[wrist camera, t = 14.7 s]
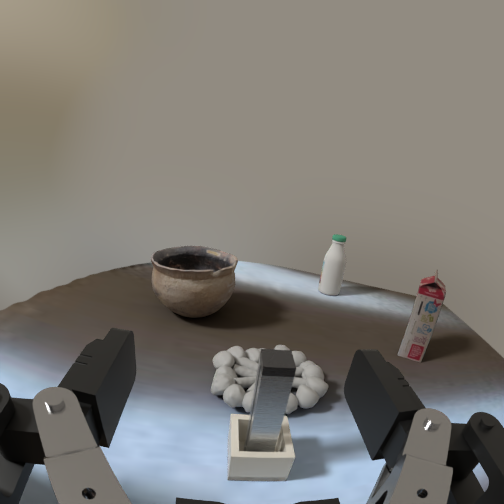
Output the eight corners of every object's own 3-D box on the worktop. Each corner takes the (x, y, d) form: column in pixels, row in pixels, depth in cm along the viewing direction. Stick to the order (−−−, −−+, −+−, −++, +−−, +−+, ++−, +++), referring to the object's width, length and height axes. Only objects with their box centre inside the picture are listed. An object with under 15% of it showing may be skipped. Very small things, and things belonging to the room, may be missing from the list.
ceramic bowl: (204, 340, 69) (209, 278, 65) (133, 311, 77) (132, 255, 73) (244, 306, 89) (251, 255, 85) (181, 286, 97) (184, 239, 93)
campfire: (268, 446, 41) (275, 421, 40) (185, 379, 55) (186, 354, 54) (342, 390, 57) (350, 366, 55) (264, 347, 71) (268, 325, 69)
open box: (227, 480, 34) (230, 456, 32) (227, 439, 42) (230, 413, 40) (285, 480, 35) (295, 457, 33) (279, 441, 42) (286, 416, 41)
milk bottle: (343, 294, 106) (355, 239, 101) (327, 297, 103) (338, 238, 98) (329, 286, 113) (340, 233, 108) (313, 288, 109) (323, 232, 104)
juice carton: (422, 350, 72) (448, 272, 66) (420, 362, 66) (449, 279, 61) (401, 344, 75) (424, 266, 69) (397, 355, 70) (423, 272, 64)
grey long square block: (244, 465, 36) (263, 366, 31) (243, 447, 39) (260, 348, 35) (269, 466, 36) (296, 368, 31) (267, 448, 40) (291, 350, 35)
